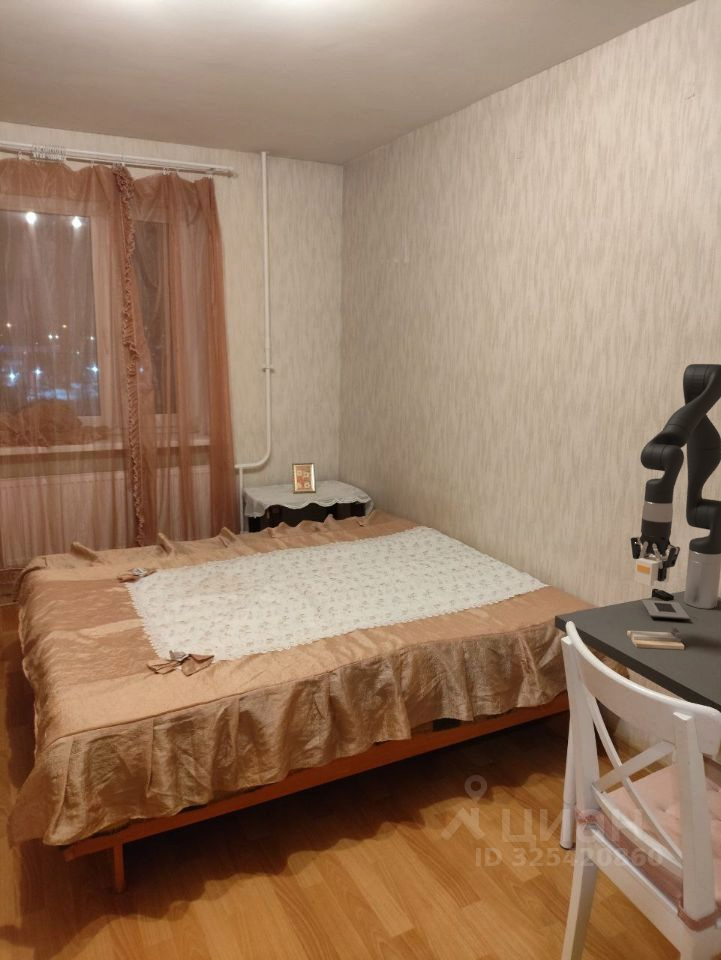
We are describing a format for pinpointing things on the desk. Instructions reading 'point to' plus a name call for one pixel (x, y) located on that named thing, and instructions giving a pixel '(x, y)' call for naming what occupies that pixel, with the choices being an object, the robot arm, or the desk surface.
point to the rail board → (657, 639)
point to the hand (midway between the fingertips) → (651, 578)
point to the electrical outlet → (665, 609)
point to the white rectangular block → (648, 571)
